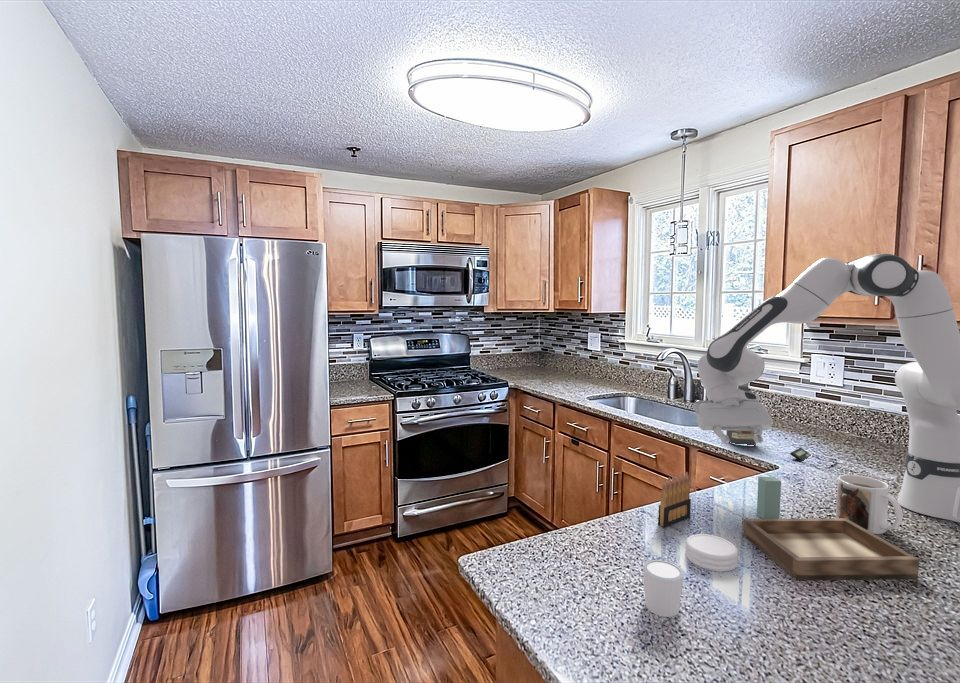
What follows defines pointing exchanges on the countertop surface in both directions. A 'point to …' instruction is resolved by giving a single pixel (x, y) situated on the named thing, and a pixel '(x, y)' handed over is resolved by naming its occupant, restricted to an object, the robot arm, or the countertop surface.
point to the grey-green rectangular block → (768, 497)
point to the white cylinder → (662, 587)
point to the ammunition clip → (674, 501)
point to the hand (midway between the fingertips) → (743, 442)
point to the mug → (866, 503)
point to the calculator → (800, 454)
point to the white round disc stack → (711, 552)
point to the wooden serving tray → (829, 549)
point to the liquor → (742, 435)
